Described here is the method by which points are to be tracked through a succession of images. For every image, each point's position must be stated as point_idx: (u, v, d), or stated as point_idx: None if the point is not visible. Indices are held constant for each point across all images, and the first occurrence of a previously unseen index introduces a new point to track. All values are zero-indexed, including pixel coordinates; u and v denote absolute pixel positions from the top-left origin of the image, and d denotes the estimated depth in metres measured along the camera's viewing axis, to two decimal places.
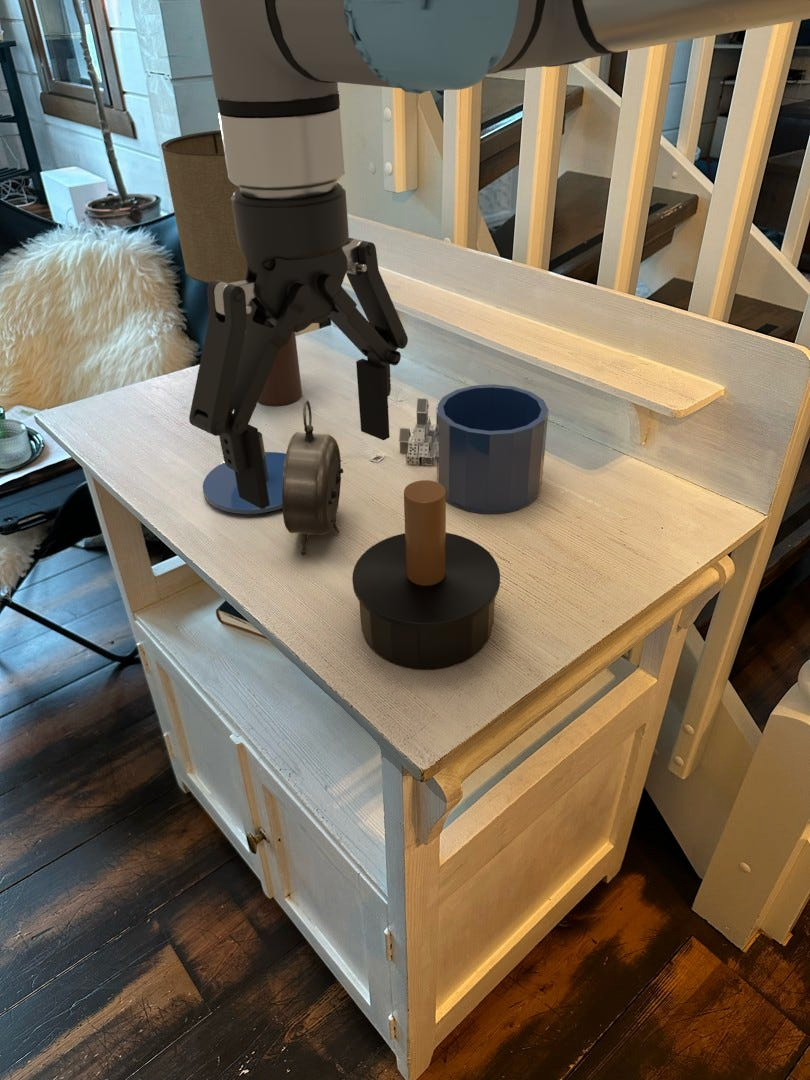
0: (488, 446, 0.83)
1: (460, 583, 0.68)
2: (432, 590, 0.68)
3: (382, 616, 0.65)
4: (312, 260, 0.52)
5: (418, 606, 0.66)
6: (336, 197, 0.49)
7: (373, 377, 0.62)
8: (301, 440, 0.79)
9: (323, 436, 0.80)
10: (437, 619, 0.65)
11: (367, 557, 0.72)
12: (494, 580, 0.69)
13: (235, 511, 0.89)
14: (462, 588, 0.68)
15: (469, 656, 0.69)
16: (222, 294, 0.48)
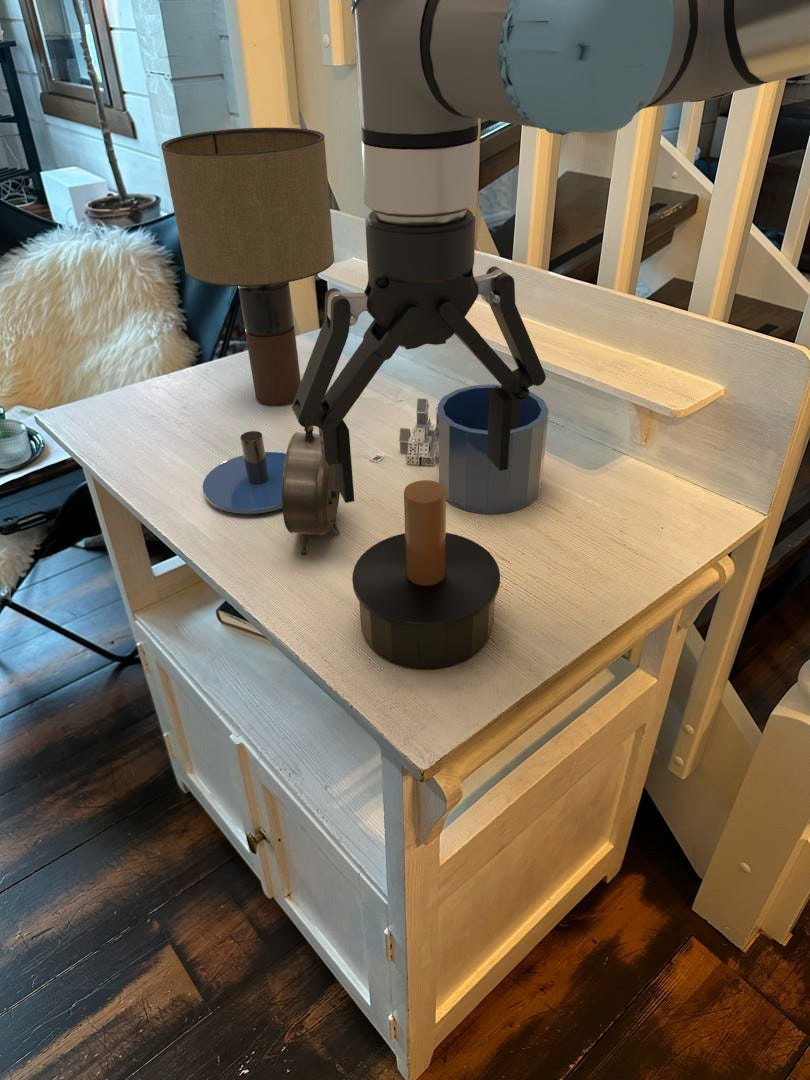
0: None
1: (460, 583, 0.68)
2: (432, 590, 0.68)
3: (382, 616, 0.65)
4: (432, 284, 0.53)
5: (418, 606, 0.66)
6: (452, 229, 0.49)
7: (498, 407, 0.62)
8: (301, 440, 0.79)
9: None
10: (437, 619, 0.65)
11: (367, 557, 0.72)
12: (494, 580, 0.69)
13: (235, 511, 0.89)
14: (462, 588, 0.68)
15: (469, 656, 0.69)
16: (331, 303, 0.52)
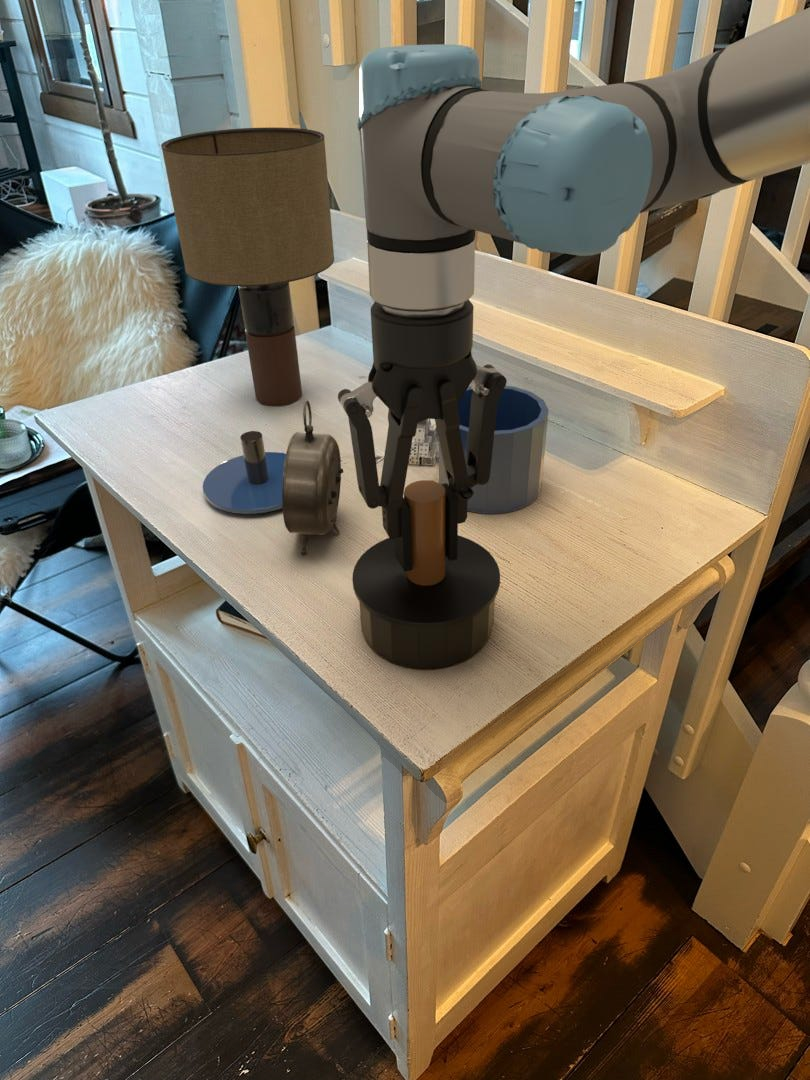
0: None
1: (460, 583, 0.68)
2: (432, 590, 0.68)
3: (382, 616, 0.65)
4: None
5: (418, 606, 0.66)
6: (452, 321, 0.53)
7: (446, 504, 0.65)
8: (301, 440, 0.79)
9: (323, 436, 0.80)
10: (437, 619, 0.65)
11: (367, 557, 0.72)
12: (494, 580, 0.69)
13: (235, 511, 0.89)
14: (462, 588, 0.68)
15: (469, 656, 0.69)
16: (344, 408, 0.57)
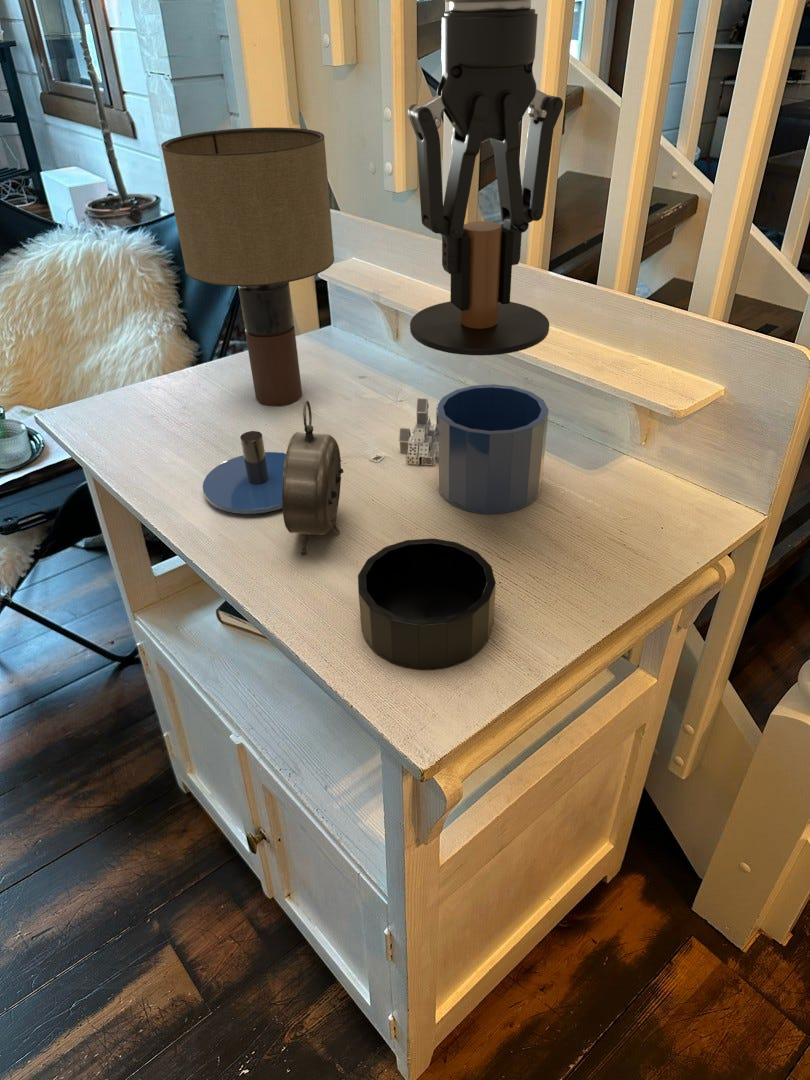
0: (488, 446, 0.83)
1: (512, 327, 0.73)
2: (487, 331, 0.72)
3: (442, 347, 0.70)
4: (498, 77, 0.61)
5: (475, 340, 0.71)
6: (520, 15, 0.57)
7: (501, 241, 0.70)
8: (301, 440, 0.79)
9: (323, 436, 0.80)
10: (494, 346, 0.69)
11: (422, 314, 0.76)
12: (544, 324, 0.73)
13: (235, 511, 0.89)
14: (515, 329, 0.72)
15: (469, 656, 0.69)
16: (415, 117, 0.62)
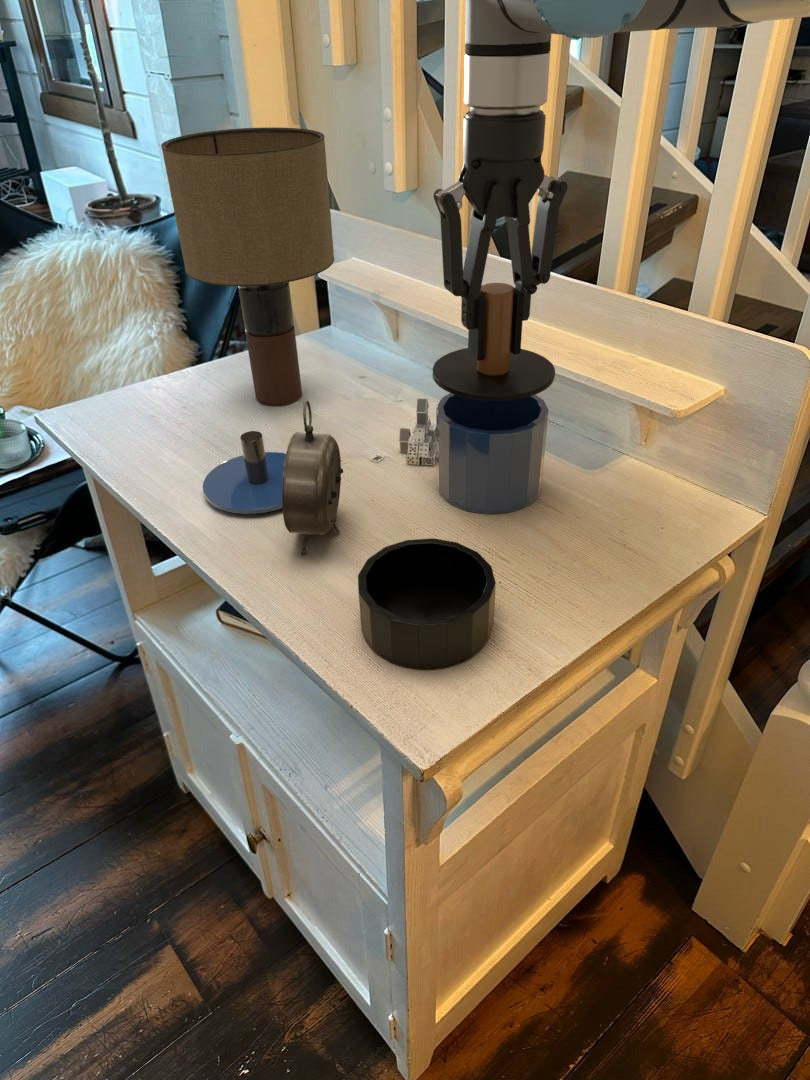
0: (488, 446, 0.83)
1: (522, 374, 0.83)
2: (500, 378, 0.82)
3: (461, 393, 0.80)
4: (511, 167, 0.71)
5: (490, 386, 0.81)
6: (531, 120, 0.67)
7: (513, 301, 0.80)
8: (301, 440, 0.79)
9: (323, 436, 0.80)
10: (507, 393, 0.79)
11: (443, 360, 0.86)
12: (550, 372, 0.83)
13: (235, 511, 0.89)
14: (524, 376, 0.82)
15: (469, 656, 0.69)
16: (439, 201, 0.72)
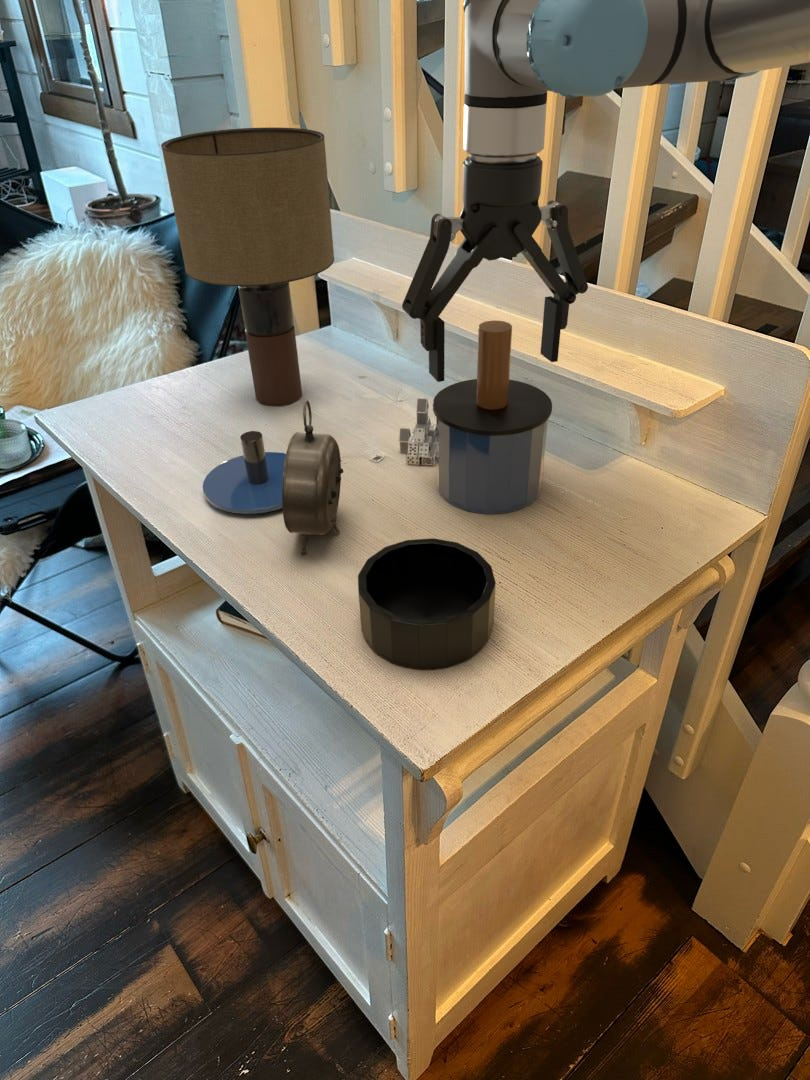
0: (488, 446, 0.83)
1: (520, 408, 0.85)
2: (498, 412, 0.85)
3: (460, 427, 0.82)
4: (509, 210, 0.74)
5: (488, 421, 0.83)
6: (528, 167, 0.69)
7: (552, 310, 0.82)
8: (301, 440, 0.79)
9: (323, 436, 0.80)
10: (505, 428, 0.82)
11: (443, 394, 0.89)
12: (547, 406, 0.86)
13: (235, 511, 0.89)
14: (522, 410, 0.85)
15: (469, 656, 0.69)
16: (437, 223, 0.73)
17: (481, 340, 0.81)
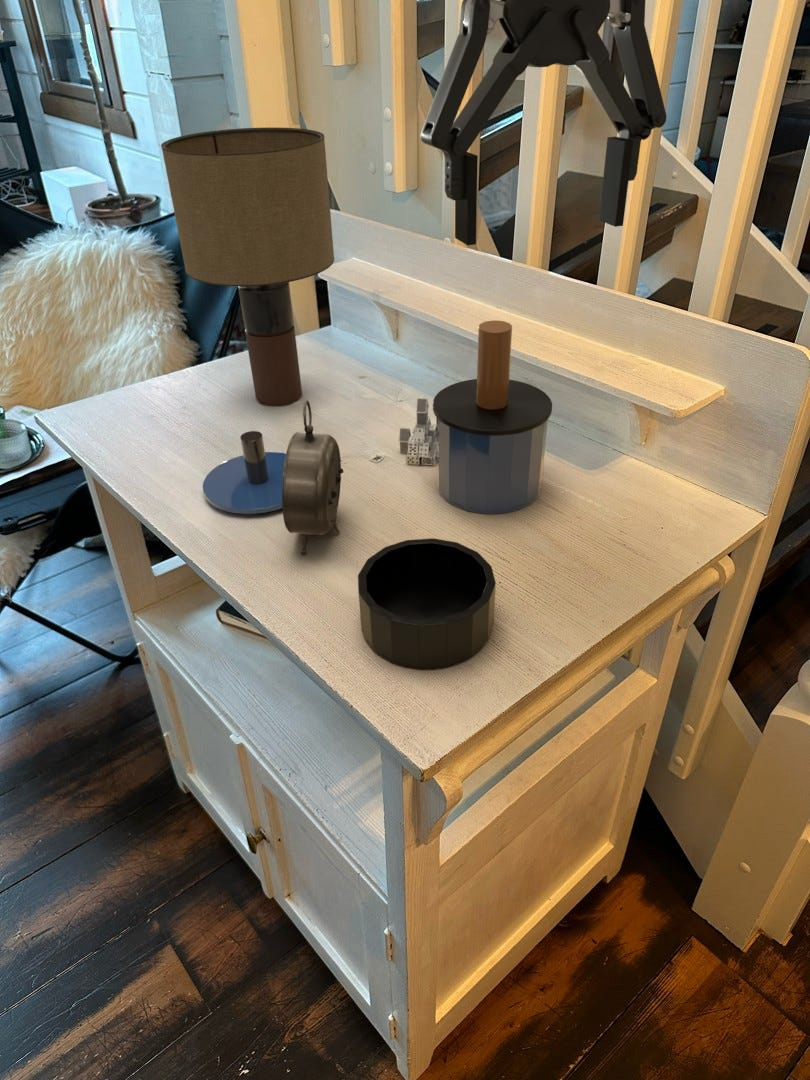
0: (488, 446, 0.83)
1: (520, 408, 0.85)
2: (498, 412, 0.85)
3: (460, 427, 0.82)
4: None
5: (488, 421, 0.83)
6: None
7: (618, 152, 0.62)
8: (301, 440, 0.79)
9: (323, 436, 0.80)
10: (505, 428, 0.82)
11: (443, 394, 0.89)
12: (547, 406, 0.86)
13: (235, 511, 0.89)
14: (522, 410, 0.85)
15: (469, 656, 0.69)
16: (470, 4, 0.53)
17: (481, 340, 0.81)
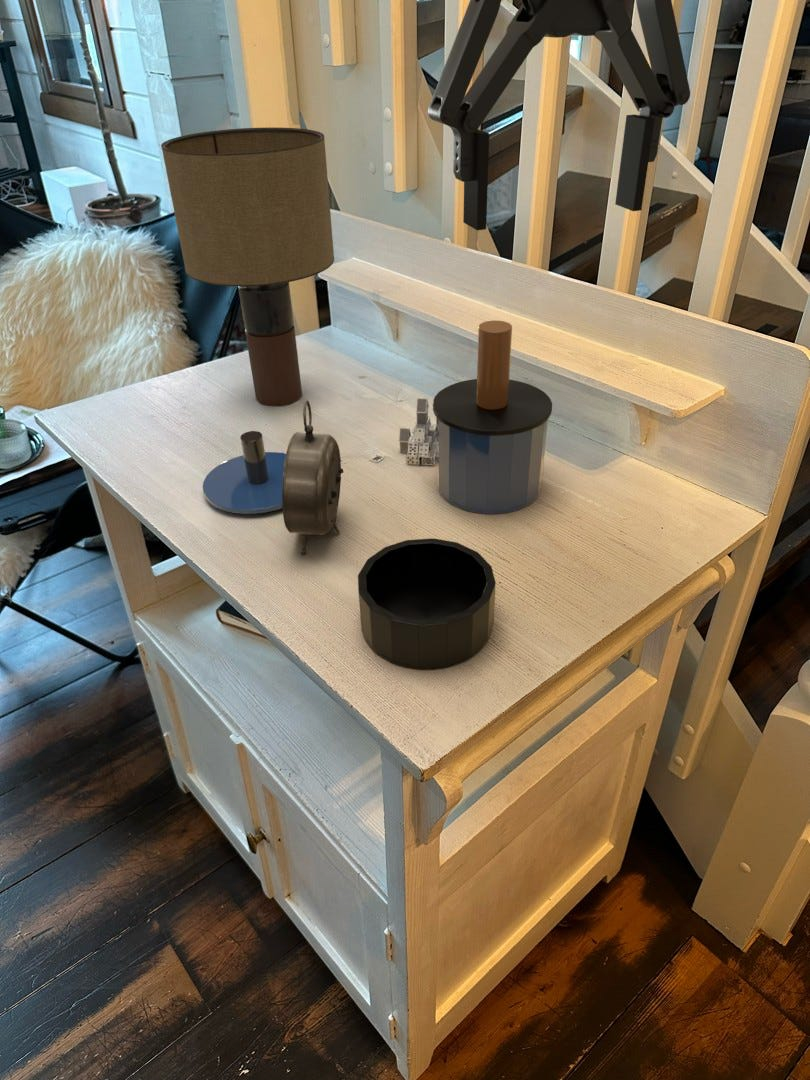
0: (488, 446, 0.83)
1: (520, 408, 0.85)
2: (498, 412, 0.85)
3: (460, 427, 0.82)
4: None
5: (488, 421, 0.83)
6: None
7: (638, 131, 0.58)
8: (301, 440, 0.79)
9: (323, 436, 0.80)
10: (505, 428, 0.82)
11: (443, 394, 0.89)
12: (547, 406, 0.86)
13: (235, 511, 0.89)
14: (522, 410, 0.85)
15: (469, 656, 0.69)
16: None
17: (481, 340, 0.81)
